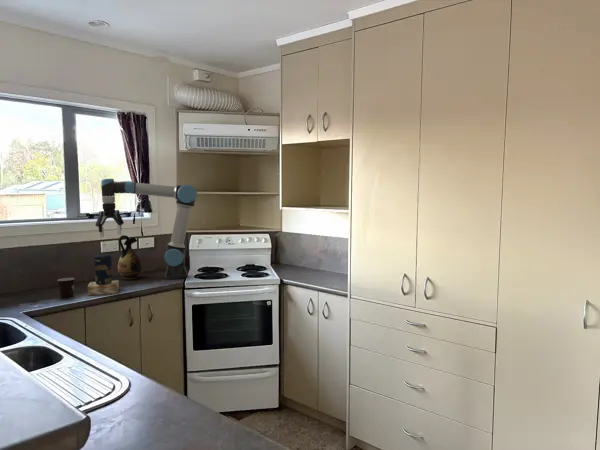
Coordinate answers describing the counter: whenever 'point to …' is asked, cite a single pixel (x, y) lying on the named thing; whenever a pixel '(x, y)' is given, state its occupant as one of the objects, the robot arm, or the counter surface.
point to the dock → (103, 288)
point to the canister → (103, 269)
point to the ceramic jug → (129, 260)
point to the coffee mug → (66, 287)
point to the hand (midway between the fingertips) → (110, 236)
